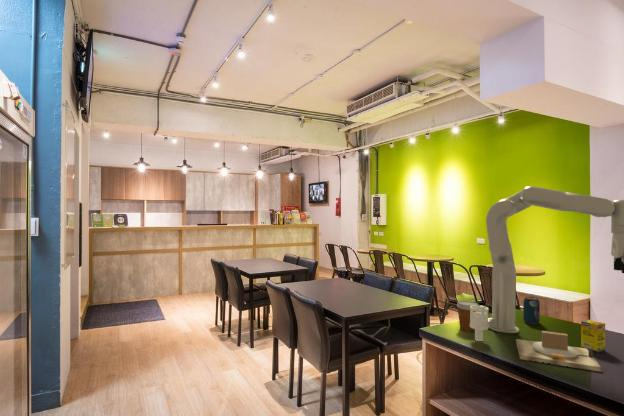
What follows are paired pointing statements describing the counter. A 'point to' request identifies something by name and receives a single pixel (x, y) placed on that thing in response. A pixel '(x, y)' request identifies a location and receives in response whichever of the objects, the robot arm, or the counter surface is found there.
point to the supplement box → (593, 335)
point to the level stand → (581, 361)
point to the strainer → (479, 320)
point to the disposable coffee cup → (465, 314)
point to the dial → (555, 345)
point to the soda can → (531, 310)
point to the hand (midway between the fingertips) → (622, 271)
